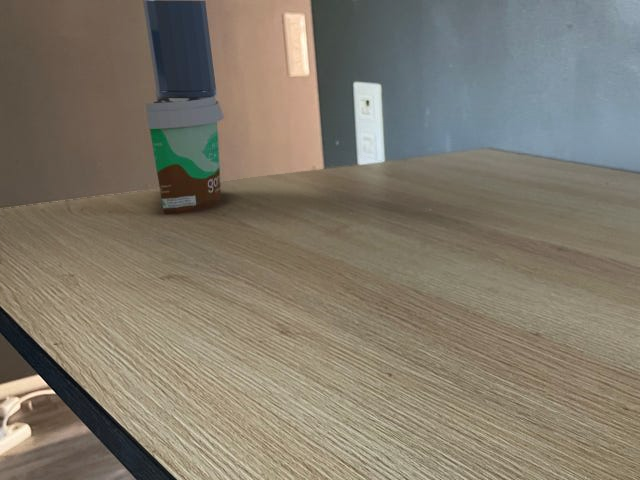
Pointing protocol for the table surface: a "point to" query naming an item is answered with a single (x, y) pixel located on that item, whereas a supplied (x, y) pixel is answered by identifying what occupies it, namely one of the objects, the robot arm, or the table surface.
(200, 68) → the cup
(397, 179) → the table surface
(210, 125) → the food container
